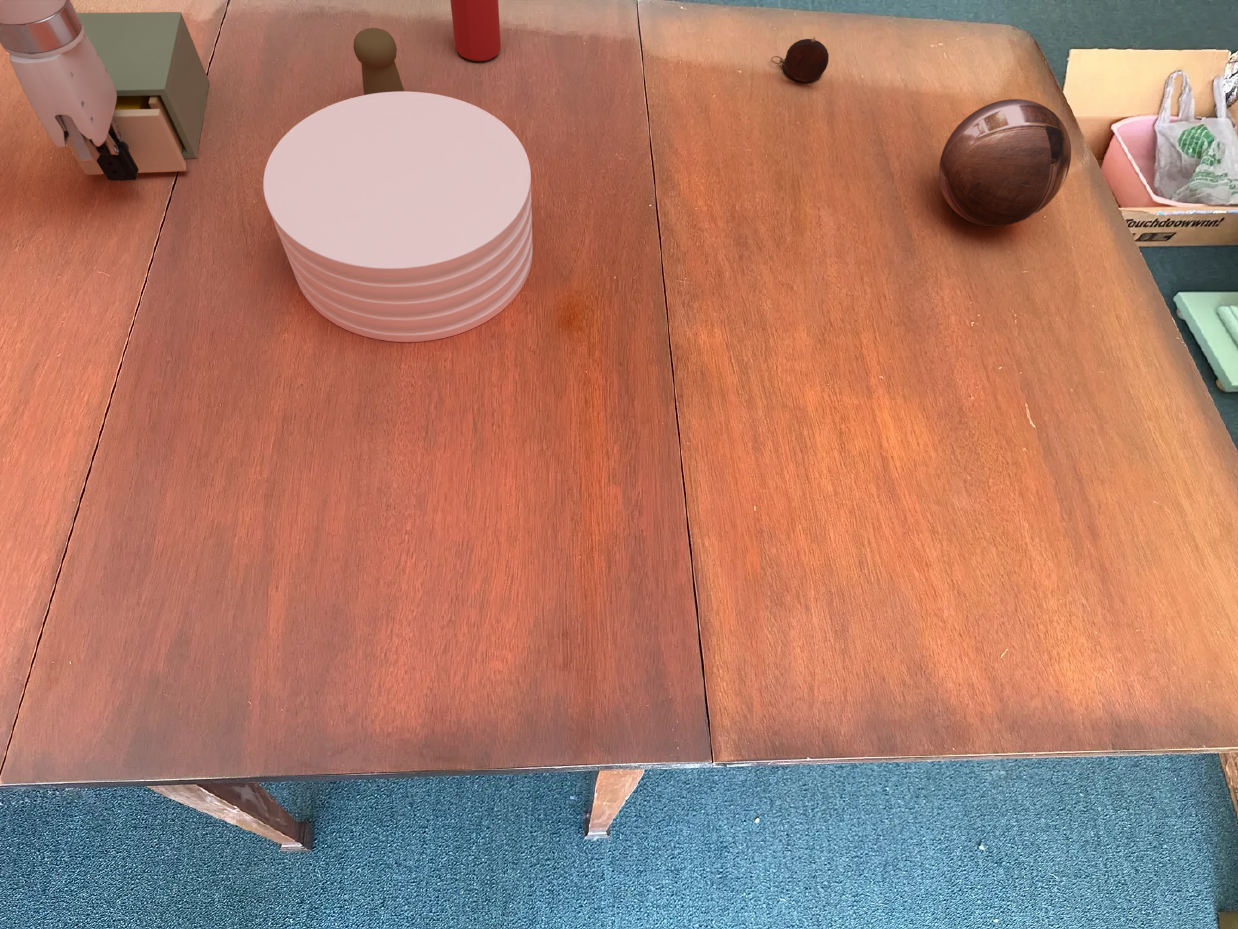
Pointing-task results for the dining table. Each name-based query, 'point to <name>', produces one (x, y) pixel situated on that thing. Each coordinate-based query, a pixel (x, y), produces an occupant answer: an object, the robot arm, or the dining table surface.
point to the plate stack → (403, 214)
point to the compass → (805, 60)
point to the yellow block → (132, 102)
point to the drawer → (145, 139)
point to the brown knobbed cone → (377, 61)
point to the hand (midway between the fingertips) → (124, 175)
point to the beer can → (476, 28)
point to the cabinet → (154, 64)
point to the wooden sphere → (1005, 162)
